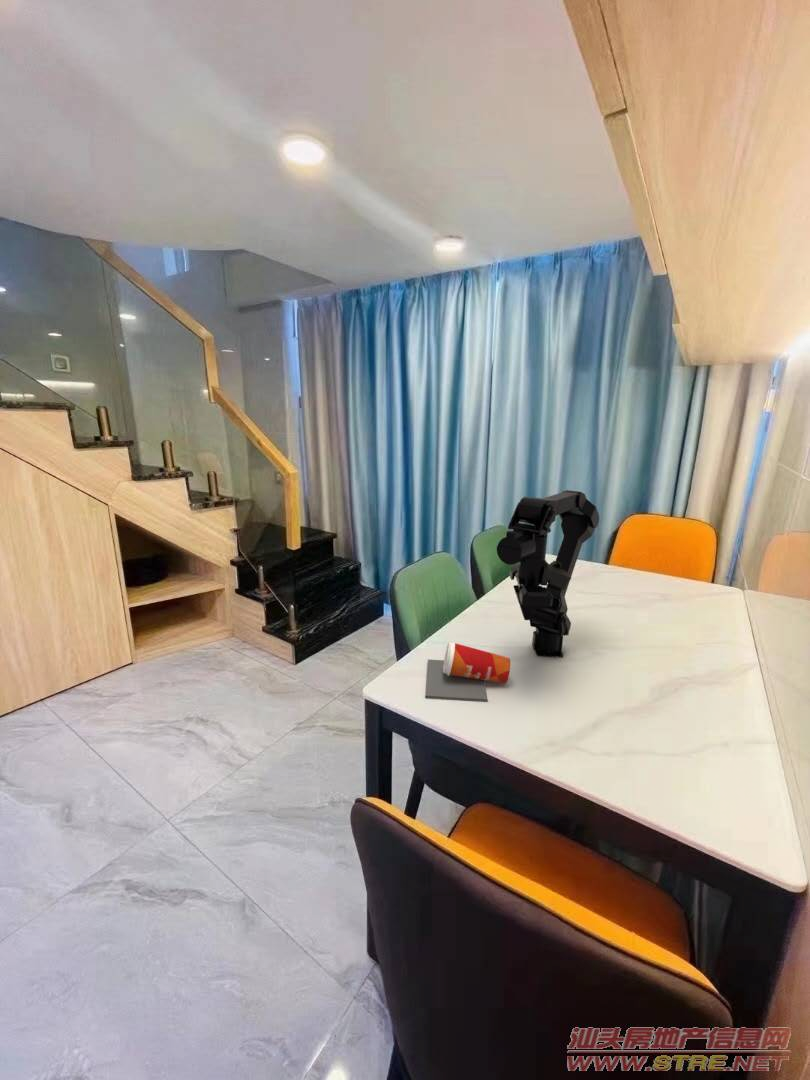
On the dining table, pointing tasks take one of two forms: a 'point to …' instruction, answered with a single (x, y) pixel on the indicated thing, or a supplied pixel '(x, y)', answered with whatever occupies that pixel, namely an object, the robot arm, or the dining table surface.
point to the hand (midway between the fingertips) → (526, 619)
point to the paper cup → (475, 663)
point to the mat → (452, 685)
